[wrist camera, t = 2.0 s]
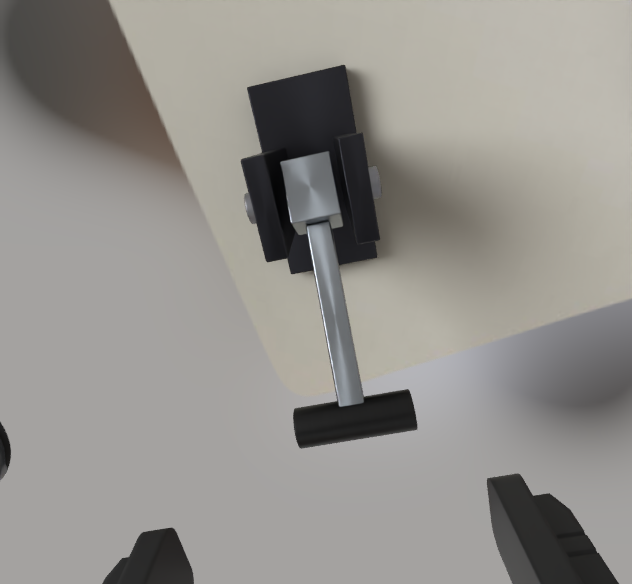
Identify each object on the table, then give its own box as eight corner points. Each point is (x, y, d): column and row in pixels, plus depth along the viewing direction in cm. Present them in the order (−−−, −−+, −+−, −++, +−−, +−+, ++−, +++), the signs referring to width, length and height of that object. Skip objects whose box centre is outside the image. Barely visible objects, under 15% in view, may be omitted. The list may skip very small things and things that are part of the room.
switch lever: (413, 423, 20) (420, 435, 18) (304, 441, 20) (297, 455, 18) (361, 164, 21) (362, 143, 19) (260, 185, 22) (247, 167, 19)
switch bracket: (375, 253, 31) (404, 319, 20) (292, 269, 32) (275, 342, 21) (344, 67, 27) (358, 20, 16) (249, 89, 28) (200, 59, 17)
